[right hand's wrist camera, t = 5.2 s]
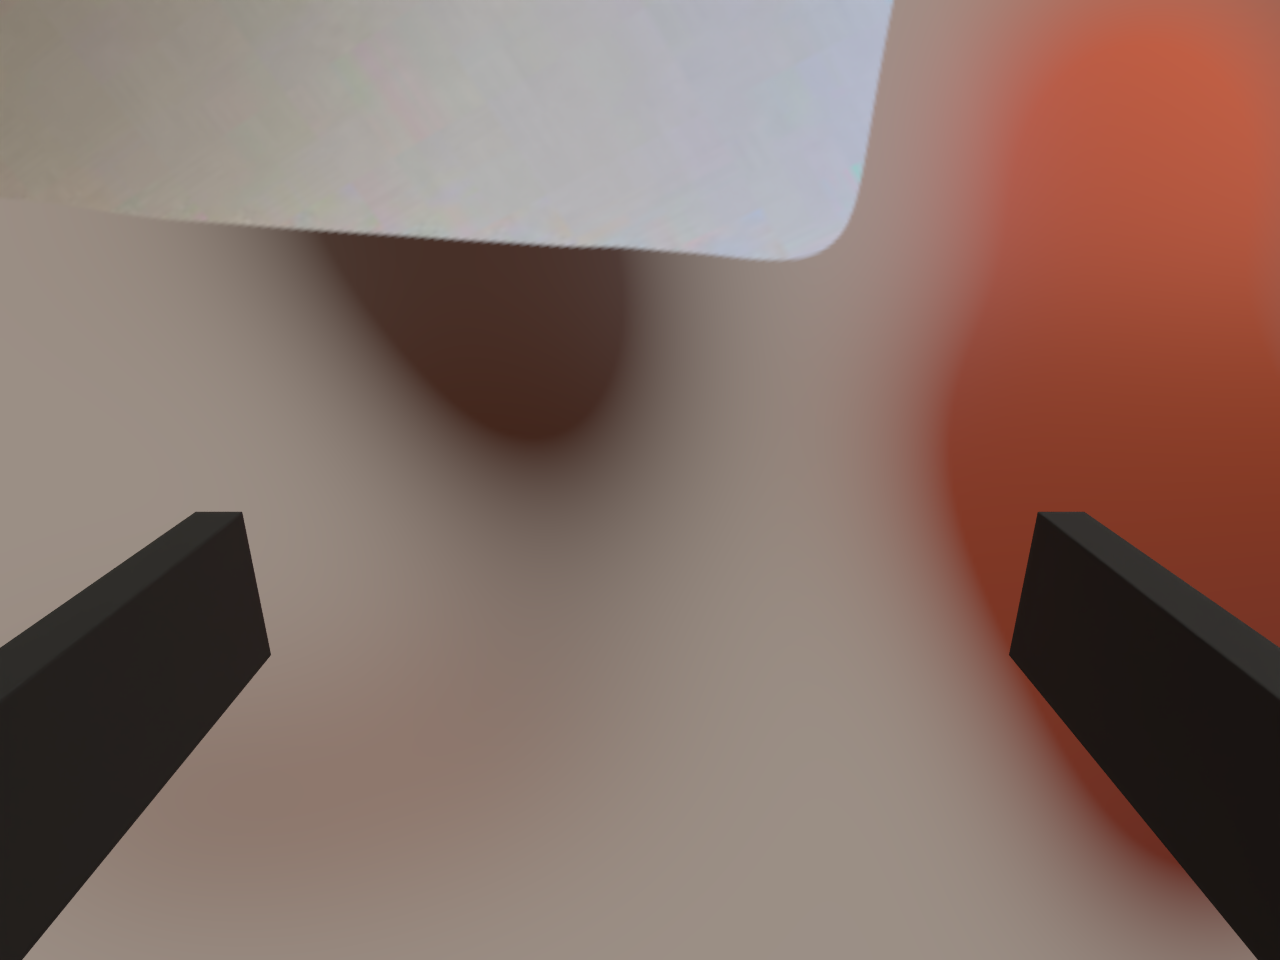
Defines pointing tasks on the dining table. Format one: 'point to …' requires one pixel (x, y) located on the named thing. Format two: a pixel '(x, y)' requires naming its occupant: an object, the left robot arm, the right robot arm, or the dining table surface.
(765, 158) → the dining table surface
